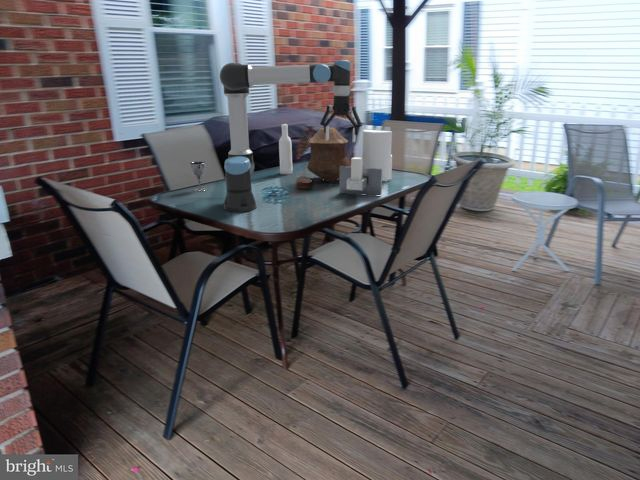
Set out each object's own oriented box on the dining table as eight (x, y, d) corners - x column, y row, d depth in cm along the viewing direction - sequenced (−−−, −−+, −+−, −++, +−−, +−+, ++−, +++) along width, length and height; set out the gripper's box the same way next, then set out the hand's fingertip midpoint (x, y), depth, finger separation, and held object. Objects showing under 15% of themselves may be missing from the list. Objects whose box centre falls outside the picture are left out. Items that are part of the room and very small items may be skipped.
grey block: (375, 201, 237) (376, 173, 233) (333, 197, 245) (333, 170, 240) (381, 195, 248) (382, 168, 243) (340, 192, 255) (340, 166, 250)
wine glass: (210, 189, 264) (207, 162, 259) (198, 192, 259) (195, 164, 254) (202, 187, 270) (199, 160, 264) (189, 190, 264) (186, 163, 259)
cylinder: (384, 183, 274) (385, 133, 265) (356, 180, 283) (357, 131, 273) (396, 177, 288) (398, 129, 279) (370, 174, 297) (371, 128, 287)
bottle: (277, 173, 304) (275, 124, 294) (286, 171, 309) (284, 123, 299) (286, 175, 298) (284, 125, 288) (295, 173, 304) (293, 124, 294)
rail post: (359, 187, 240) (360, 159, 235) (350, 186, 241) (351, 158, 237) (362, 185, 244) (362, 157, 239) (353, 184, 245) (353, 157, 240)
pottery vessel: (336, 186, 268) (336, 131, 257) (298, 181, 281) (297, 129, 271) (358, 177, 288) (359, 126, 278) (322, 173, 301) (322, 124, 291)
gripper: (369, 95, 226) (367, 141, 233) (319, 94, 234) (319, 138, 241) (365, 96, 219) (363, 143, 226) (313, 94, 227) (313, 140, 234)
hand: (340, 141), depth 234 cm, fingers open, 13 cm apart
